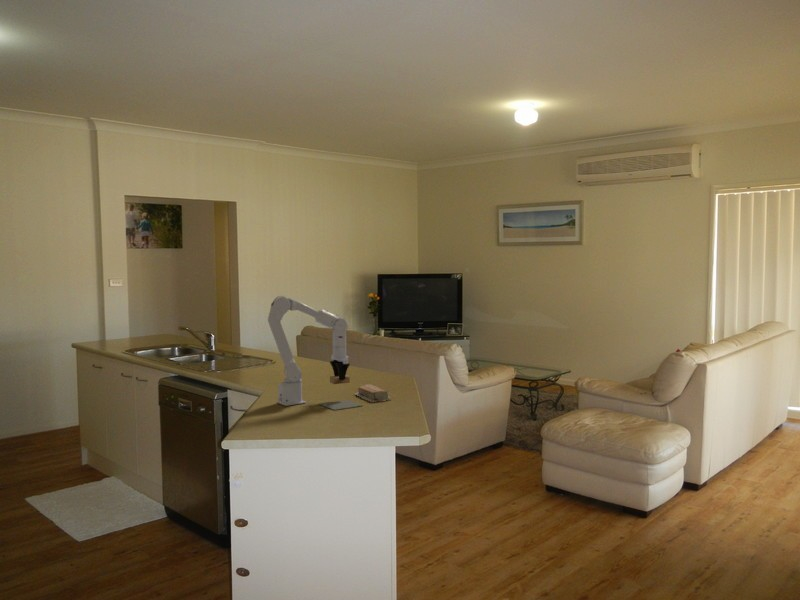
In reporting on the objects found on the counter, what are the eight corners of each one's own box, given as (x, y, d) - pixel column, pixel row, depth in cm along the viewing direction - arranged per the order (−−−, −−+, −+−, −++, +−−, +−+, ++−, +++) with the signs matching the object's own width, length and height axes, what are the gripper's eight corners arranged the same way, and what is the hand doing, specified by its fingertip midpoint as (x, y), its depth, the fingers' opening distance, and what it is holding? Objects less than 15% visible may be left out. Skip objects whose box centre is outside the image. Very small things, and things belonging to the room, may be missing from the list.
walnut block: (333, 384, 269) (333, 377, 269) (330, 382, 273) (329, 376, 273) (349, 382, 272) (349, 376, 272) (345, 380, 276) (345, 374, 276)
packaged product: (392, 389, 272) (370, 392, 267) (392, 401, 272) (370, 403, 267) (374, 382, 288) (353, 384, 283) (374, 393, 288) (353, 395, 283)
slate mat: (334, 410, 253) (334, 409, 253) (319, 404, 263) (319, 404, 263) (362, 406, 261) (362, 405, 261) (347, 400, 271) (347, 399, 271)
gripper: (355, 347, 267) (355, 380, 267) (342, 343, 280) (342, 375, 280) (338, 349, 264) (339, 382, 264) (326, 344, 276) (326, 376, 277)
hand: (339, 378), depth 272 cm, fingers closed on walnut block, 4 cm apart
